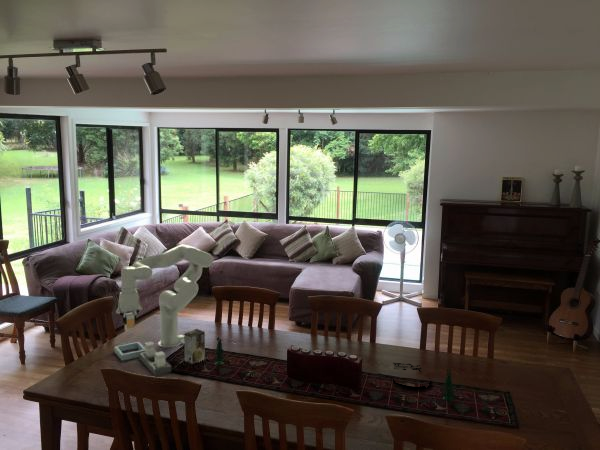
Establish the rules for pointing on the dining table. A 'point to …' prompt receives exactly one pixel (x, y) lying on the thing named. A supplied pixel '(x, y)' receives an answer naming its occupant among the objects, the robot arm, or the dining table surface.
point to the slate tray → (128, 347)
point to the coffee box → (194, 346)
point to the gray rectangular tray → (151, 364)
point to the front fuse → (159, 359)
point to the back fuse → (149, 349)
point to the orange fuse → (130, 322)
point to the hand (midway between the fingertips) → (129, 322)
